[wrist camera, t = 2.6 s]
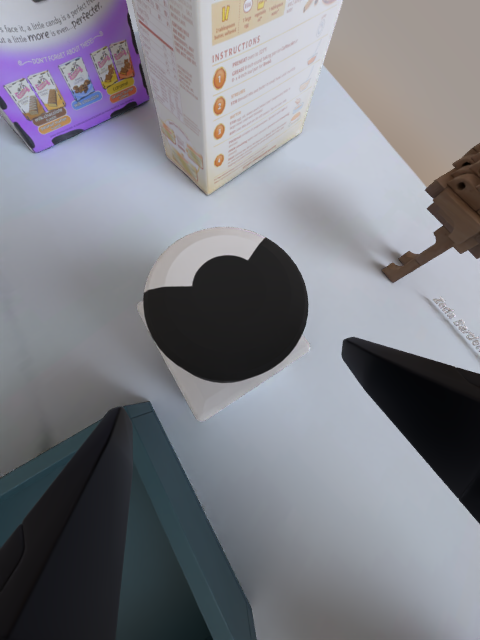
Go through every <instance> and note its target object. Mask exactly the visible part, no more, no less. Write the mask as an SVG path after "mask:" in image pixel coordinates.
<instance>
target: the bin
mask: <svg viewBox="0 0 480 640" xmlns="http://www.w3.org/2000/svg"><path fill="white" fill-rule="evenodd" d="M123 408H124V409H125V411H126V412H127V414H128V416H129V418H130V419H131V421H132V426H133V473H132V484H131V494H130V503H129V513H128V523H127V532H126V542H125V552H124V561H123V571H122V581H121V590H120V600H119V610H118V619H117V629H116V639H115V640H257V639H256V633H255V627H254V621H253V615H252V608H251V606H250V604H249V602H248V600H247V598H246V596H245V594H244V592H243V590H242V588H241V586H240V584H239V582H238V580H237V578H236V576H235V574H234V572H233V570H232V568H231V566H230V564H229V562H228V560H227V558H226V556H225V554H224V552H223V549H222V547H221V545H220V543H219V541H218V539H217V537H216V535H215V533H214V531H213V529H212V527H211V525H210V523H209V521H208V519H207V517H206V515H205V513H204V511H203V509H202V507H201V505H200V503H199V501H198V499H197V497H196V495H195V493H194V491H193V488H192V486H191V484H190V482H189V480H188V478H187V476H186V474H185V472H184V470H183V468H182V466H181V464H180V462H179V460H178V458H177V456H176V454H175V452H174V450H173V448H172V446H171V444H170V442H169V440H168V438H167V436H166V434H165V432H164V429H163V427H162V425H161V423H160V421H159V419H158V417H157V415H156V413H155V411H154V409H153V407H152V405H151V403H150V401H149V402H144V403H138V404H133V405H127V406H123ZM101 420H102V419H101ZM101 420H99V421H97V422H96V423H94V424H92V425H91V426H89V427H87V428H85V429H84V430H82V431H80V432H79V433H77V434H75V435H73V436H72V437H70V438H68V439H66V440H65V441H63V442H61V443H60V444H58V445H56V446H54V447H53V448H51V449H49V450H48V451H46V452H44V453H42V454H41V455H39V456H37V457H36V458H34V459H32V460H30V461H29V462H27V463H25V464H24V465H22V466H20V467H18V468H17V469H15V470H13V471H12V472H10V473H8V474H6V475H5V476H3V477H1V478H0V548H1V547H2V546H3V544H4V543H5V542H6V541H7V539H8V538H9V537H10V536H11V534H12V533H13V532H14V531H15V529H16V528H17V527H18V525H19V524H22V521H23V519H24V518H25V517H26V515H27V514H28V513H29V512H30V510H31V509H32V508H33V507H34V505H35V504H36V503H37V501H38V500H39V499H40V498H41V496H42V495H43V494H44V493H45V491H46V490H47V489H48V487H49V486H50V485H51V484H52V482H53V481H54V480H55V479H56V477H57V476H58V475H59V473H60V472H61V471H62V470H63V468H64V467H65V466H66V465H67V463H68V462H69V461H70V459H71V458H72V457H73V456H74V454H75V453H76V452H77V451H78V449H79V448H80V447H81V446H82V444H83V443H84V442H85V440H86V439H87V438H88V437H89V435H90V434H91V433H92V432H93V430H94V429H95V428H96V426H97V425H98V424H99V423H100V421H101Z"/></svg>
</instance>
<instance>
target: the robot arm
mask: <svg viewBox="0 0 480 640" xmlns="http://www.w3.org/2000/svg"><path fill="white" fill-rule="evenodd" d="M342 358H343V360H344V362H345V363H346V365H347V366H348V367H349V369H350V370H351V372H352V373H353V375H354V376H355V377H356V379H357V380H358V382H359V383H360V384H361V386H362V387H363V388H364V390H365V391H366V392H367V393H368V395H369V396H370V397H371V398H372V399H373V400H374V402H375V403H376V404H377V405H378V406H379V407H380V409H381V410H382V411H383V412H384V413H385V414H386V415H387V417H388V418H389V419H390V420H391V421H392V422H393V424H394V425H395V426H396V427H397V428H398V429H399V431H400V432H401V433H402V434H403V435H404V436H405V438H406V439H407V440H408V441H409V442H410V443H411V445H412V446H413V447H414V448H415V449H416V450H417V451H418V453H419V454H420V455H421V456H422V457H423V458H424V460H425V461H426V462H427V463H428V464H429V465H430V467H431V468H432V469H433V470H434V471H435V472H436V474H437V475H438V476H439V477H440V478H441V479H442V481H443V482H444V483H445V484H446V485H447V486H448V488H449V489H450V490H451V491H452V492H453V493H454V494H455V496H456V497H457V498H459V501H460V502H461V503H462V504H463V505H464V506H465V507H466V509H467V510H468V511H469V512H470V513H471V514H472V516H473V517H474V518H475V519H476V520H477V521H478V523H479V524H480V374H478V373H475V372H471V371H468V370H464V369H461V368H455V367H454V366H451V365H447V364H444V363H441V362H437V361H434V360H430V359H427V358H424V357H420V356H417V355H413V354H410V353H407V352H403V351H400V350H397V349H393V348H390V347H386V346H383V345H380V344H376V343H373V342H369V341H366V340H363V339H359V338H356V337H350V338H347V339H344V341H343V346H342ZM132 473H133V426H132V421H131V419H130V418H129V416H128V414H127V412H126V411H125V409H124V408H123V407H117V408H114V409H111V410H109V411H108V412H107V414H106V415H105V416H104V418H103V419H102V420H101V421H100V423H99V424H98V425H97V426H96V428H95V429H94V430H93V432H92V433H91V434H90V435H89V437H88V438H87V439H86V440H85V442H84V443H83V444H82V446H81V447H80V448H79V449H78V451H77V452H76V453H75V454H74V456H73V457H72V458H71V459H70V461H69V462H68V463H67V465H66V466H65V467H64V468H63V470H62V471H61V472H60V473H59V475H58V476H57V477H56V479H55V480H54V481H53V482H52V484H51V485H50V486H49V487H48V489H47V490H46V491H45V493H44V494H43V495H42V496H41V498H40V499H39V500H38V501H37V503H36V504H35V505H34V507H33V508H32V509H31V510H30V512H29V513H28V514H27V515H26V517H25V518H24V519H23V521H22V524H19V525H18V527H17V528H16V529H15V531H14V532H13V533H12V534H11V536H10V537H9V538H8V539H7V541H6V542H5V543H4V544H3V546H2V547H1V548H0V640H115V639H116V629H117V619H118V610H119V600H120V590H121V581H122V571H123V561H124V552H125V542H126V532H127V523H128V513H129V503H130V494H131V484H132Z"/></svg>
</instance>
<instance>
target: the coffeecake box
mask: <svg viewBox="0 0 480 640" xmlns="http://www.w3.org/2000/svg"><path fill="white" fill-rule="evenodd" d="M132 3H133V7H134V12H135V16H136V21H137V26H138V30H139V35H140V40H141V44H142V49H143V53H144V58H145V62H146V67H147V71H148V76H149V80H150V85H151V89H152V94H153V99H154V103H155V107H156V112H157V116H158V121H159V126H160V130H161V135H162V139H163V143H164V148H165V152H166V156H167V158H169V159H170V160H171V161H172V162H173V163H174V164H175V165H176V166H177V167H178V168H179V169H181V170H182V171H183V172H184V173H185V174H186V175H187V176H188V177H189V178H190V179H191V180H192V181H193V182H194V183H195V184H196V185H197V186H198V187H199V188H200V189H201V190H202V191H204V192H205V193H206V194H207V195H209V194H211V193H212V192H214V191H215V190H217V189H218V188H220V187H221V186H223V185H224V184H226V183H227V182H229V181H230V180H232V179H233V178H235V177H236V176H238V175H239V174H240V173H242V172H244V171H245V170H247V169H248V168H250V167H251V166H252V165H254V164H255V163H257V162H258V161H260V160H261V159H263V158H264V157H266V156H267V155H269V154H270V153H272V152H273V151H275V150H276V149H278V148H279V147H280V146H282V145H284V144H285V143H287V142H288V141H289V140H291V139H292V138H294V137H295V136H297V135H298V134H300V133H301V132H302V128H303V124H304V121H305V118H306V115H307V112H308V108H309V105H310V102H311V99H312V96H313V93H314V90H315V87H316V84H317V80H318V77H319V74H320V71H321V68H322V65H323V62H324V58H325V56H326V52H327V49H328V46H329V43H330V40H331V37H332V34H333V31H334V28H335V24H336V21H337V18H338V15H339V12H340V9H341V5H342V3H343V0H132Z"/></svg>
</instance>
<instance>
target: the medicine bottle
mask: <svg viewBox="0 0 480 640" xmlns="http://www.w3.org/2000/svg"><path fill="white" fill-rule="evenodd" d="M137 310H138V312H139V314H140V316H141V318H142V320H143V322H144V324H145V325H146V327H147V329H148V331H149V333H150V335H151V337H152V338H153V340H154V342H155V344H156V346H157V348H158V350H159V351H160V353H161V355H162V357H163V359H164V361H165V363H166V364H167V366H168V368H169V370H170V372H171V374H172V376H173V377H174V379H175V381H176V383H177V385H178V387H179V389H180V390H181V392H182V394H183V396H184V398H185V400H186V402H187V403H188V405H189V407H190V409H191V411H192V413H193V415H194V416H195V418H196V419H197V420H198V421H201V422H203V421H206V420H207V419H209V418H210V417H212V416H213V415H215V414H216V413H218V412H219V411H221V410H222V409H224V408H225V407H227V406H228V405H230V404H231V403H233V402H234V401H236V400H237V399H239V398H240V397H242V396H243V395H245V394H246V393H248V392H249V391H251V390H252V389H254V388H255V387H257V386H258V385H260V384H261V383H263V382H264V381H266V380H267V379H269V378H270V377H272V376H273V375H275V374H276V373H278V372H279V371H281V370H282V369H284V368H285V367H287V366H288V365H290V364H291V363H293V362H295V361H296V360H298V359H299V358H301V357H302V356H304V355H305V354H307V353H308V352H309V350H310V344H309V343H308V341H307V340H306V338H305V337H304V335H303V331H304V328H305V326H306V321H307V316H308V296H307V291H306V286H305V283H304V280H303V278H302V275H301V273H300V271H299V270H298V268H297V266H296V264H295V263H294V262H293V260H292V259H291V258H290V257H289V256H288V254H287V253H286V252H285V251H284V250H283V249H281V248H280V247H279V246H278V245H277V244H275V243H274V242H272V241H271V240H269V239H267V238H266V237H264V236H261V235H259V234H257V233H255V232H252V231H249V230H245V229H240V228H234V227H215V228H208V229H204V230H200V231H196V232H194V233H191V234H189V235H186V236H185V237H183V238H181V239H179V240H178V241H176V242H175V243H174V244H172V245H171V246H170V247H168V248H167V249H166V250H165V251H164V252H163V253H162V254H161V256H160V257H159V258H158V260H157V261H156V262H155V264H154V266H153V267H152V269H151V271H150V273H149V276H148V278H147V281H146V285H145V289H144V298H143V301H141V302H139V303H138V305H137Z"/></svg>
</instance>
